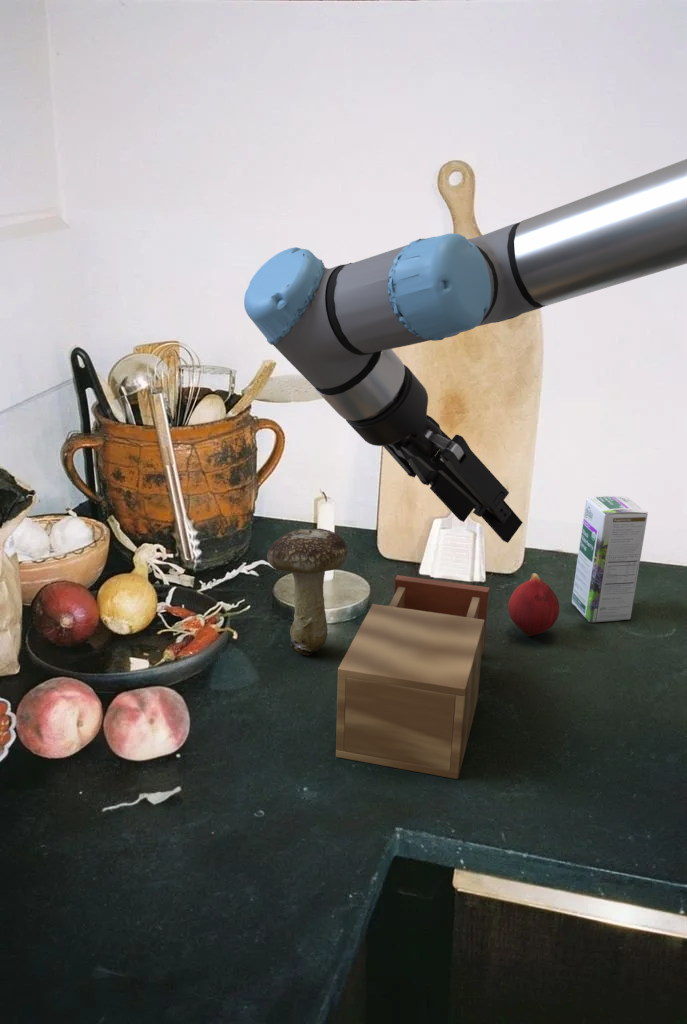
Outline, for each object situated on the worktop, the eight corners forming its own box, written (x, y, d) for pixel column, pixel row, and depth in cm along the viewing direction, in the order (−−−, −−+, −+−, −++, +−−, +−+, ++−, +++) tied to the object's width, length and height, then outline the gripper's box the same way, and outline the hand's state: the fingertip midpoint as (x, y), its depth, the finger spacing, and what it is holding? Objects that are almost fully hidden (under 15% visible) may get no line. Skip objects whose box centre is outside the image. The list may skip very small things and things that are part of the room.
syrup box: (569, 602, 120) (582, 496, 114) (612, 600, 121) (627, 494, 115) (588, 623, 114) (603, 513, 109) (633, 620, 115) (650, 510, 110)
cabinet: (369, 683, 100) (372, 603, 97) (477, 701, 98) (484, 619, 94) (335, 757, 88) (337, 668, 85) (458, 779, 85) (465, 688, 82)
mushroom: (291, 682, 100) (292, 554, 95) (252, 647, 107) (251, 526, 102) (363, 659, 105) (368, 536, 100) (322, 627, 112) (325, 510, 106)
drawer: (402, 617, 113) (405, 558, 110) (488, 630, 110) (494, 569, 108) (368, 691, 97) (371, 624, 94) (468, 708, 95) (474, 640, 92)
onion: (560, 630, 113) (567, 569, 110) (549, 651, 108) (556, 589, 105) (513, 620, 115) (519, 560, 112) (500, 640, 110) (505, 578, 107)
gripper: (467, 380, 79) (577, 521, 94) (339, 341, 94) (451, 469, 109) (415, 449, 78) (534, 581, 93) (293, 399, 93) (413, 520, 108)
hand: (489, 521), depth 101 cm, fingers open, 6 cm apart
